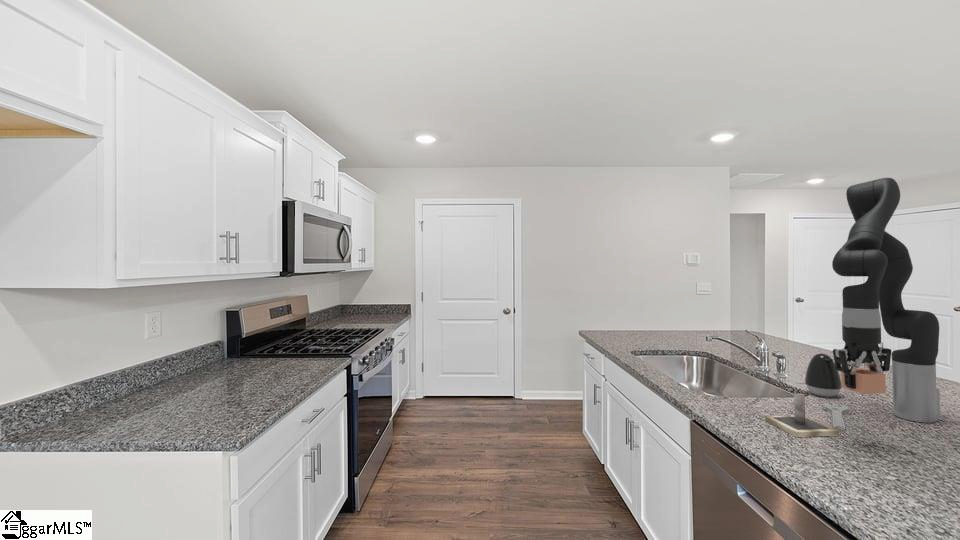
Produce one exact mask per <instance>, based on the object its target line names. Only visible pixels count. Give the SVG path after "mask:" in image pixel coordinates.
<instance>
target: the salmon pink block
mask: <svg viewBox="0 0 960 540" xmlns="http://www.w3.org/2000/svg"><path fill="white" fill-rule="evenodd" d="M840 375H841V376H840V379H841V384H842V388H843V389H846V390H849V391H851V392H855V393H859V394H861V395H873V394H874V395H877V394H882V395H883V394H886V393H887V391H886V374H885V373H879V372H875V371H871V370H869V369H866V368H861V367H859V368H857V370H856V373H855V374H854V375H856V388H855V389H851V388H848V387H846V385H845V381H844V380H845V379H844V373H843V372H841V371H840ZM842 388H841V389H842Z"/></svg>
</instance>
